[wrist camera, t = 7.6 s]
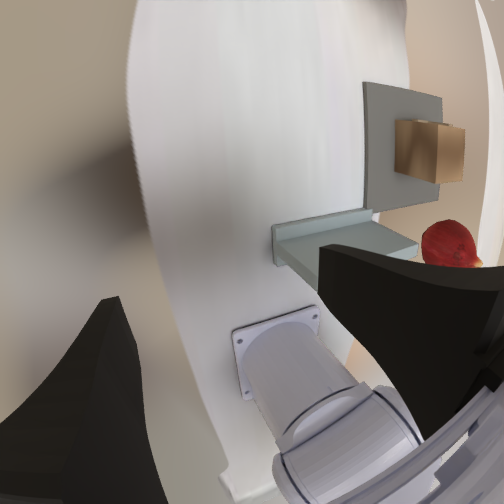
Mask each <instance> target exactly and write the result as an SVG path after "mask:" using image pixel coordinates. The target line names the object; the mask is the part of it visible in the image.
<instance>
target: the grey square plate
mask: <svg viewBox="0 0 504 504" xmlns="http://www.w3.org/2000/svg"><path fill="white" fill-rule="evenodd" d="M363 92H364V113H365V188H364V208H365V209H370V208H371V209H373V210H372V214H373V213H378V212H383V211H387V210H393V209H397V208H402V207H407V206H412V205H417V204H422V203H427V202H432V201H437V200H438V197H439V188H440V183H439V184H434V183H431V182H428V181H424V180H421V179H418V178H415V177H411V176H408V175H404V174H401V173H397V172H394V164H395V119H396V120H406V121H412V119H418V120H425V121H432V122H439V123H443V118H442V117H443V115H442V98H440V97H437V96H433V95H429V94H425V93H421V92H416V91H413V90H408V89H403V88H399V87H394V86H388V85H383V84H377V83H371V82H363Z"/></svg>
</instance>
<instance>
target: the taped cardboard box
mask: <svg viewBox="0 0 504 504" xmlns="http://www.w3.org/2000/svg"><path fill="white" fill-rule="evenodd" d="M464 149H465V129H461V128H456V127H453V125H452V124H445V123H439V122H432V121H425V120H418V119H412V121H406V120H396V119H395V164H394V172H397V173H401V174H404V175H408V176H411V177H415V178H418V179H421V180H424V181H428V182H431V183H434V184H439V183H448V182H456V181H462V176H463V165H464Z"/></svg>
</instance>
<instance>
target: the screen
mask: <svg viewBox="0 0 504 504" xmlns="http://www.w3.org/2000/svg"><path fill="white" fill-rule="evenodd" d="M372 210H373V209H371V208H370V209H365V208H360V209H355V210H350V211H345V212H339V213H334V214H329V215H324V216H319V217H314V218H309V219H304V220H299V221H294V222H289V223H284V224H279V225H274V226H272V236H273V256H274V264H275V265H276V266H277V267H279V266H283V265H288V266H290V267H291V268H292V269H293V270H294V271H295V272H296V273H297V274H298V275H299V276H300V277H301V278H302V279H304V280H305V281H306V282H307V283H308V284H309V285H310V286H311V287H312V288H313V289H314V290H315V291H316V292H317V291H318V269H319V247H322V246H326V245H330V244H340V245H345V246H350V247H355V248H359V249H363V250H367V251H371V252H375V253H378V254H382V255H386V256H390V257H395V258H399V259H404V260H408V259H410V258H413V257H416V256H417V252H418V245H419V244H418V243H416V242H415V241H413V240H411V239H409V238H407V237H405V236H403V235H401V234H399V233H397V232H395V231H393V230H391V229H389V228H387V227H385V226H383V225H380V224H378V223H376V222H374V221H372Z"/></svg>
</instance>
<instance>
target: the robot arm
mask: <svg viewBox="0 0 504 504" xmlns="http://www.w3.org/2000/svg"><path fill="white" fill-rule="evenodd" d="M317 294H318V295H319V297H320V298H321V300H322V301H323V302H324V304H325V305H326V307H327V308H328V309H329V311H330V312H331V313H332V314H333V315H334V316H335V318H336V319H337V320H338V321H339V322H340V323H341V324H342V325H343V326H344V327H345V328H346V329H347V330H348V331H349V332H350V333H351V334H352V335H353V336H354V337H355V338H356V339H357V340H358V341H359V342H360V343H361V344H362V345H363V346H364V347H365V348H366V349H367V350H368V352H369V353H370V354H371V355H372V356H373V357H374V359H375V360H376V361H377V363H378V364H379V365H380V367H381V368H382V369H383V371H384V372H385V373H386V375H387V376H388V378H389V379H390V381H391V382H392V384H393V385H394V386H395V388H396V389H394V388H392V387H387V386H381V385H378V386H377V387H375V388H374V389H373V390H371V388H370V387H369V386H368V385H367V384H366V383H365V382H362V383H360V384H359V383H358V382H357V380H356V379H355V378H354V377H353V376H352V375H351V374H350V373H349V371H348V370H347V369H346V368H345V367H344V366H343V365H342V363H341V362H340V361H339V360H338V359H337V358H336V357H335V356H334V354H333V353H332V352H331V351H330V350H329V349H328V348H327V346H326V345H325V344H324V343H323V342H322V341H321V340H320V339H319V337H318V329H319V316H320V309H319V308H318V307H317V306H312V307H309V308H306V309H303V310H300V311H297V312H294V313H291V314H287V315H284V316H281V317H278V318H275V319H272V320H269V321H265V322H262V323H259V324H255V325H252V326H249V327H245V328H242V329H239V330H236V331H234V332H233V334H232V339H233V345H234V351H235V357H236V364H237V370H238V376H239V381H240V387H241V393H242V398H243V400H245V401H248V400H251V399H254V400H255V402H256V404H257V406H258V408H259V410H260V412H261V413H262V415H263V417H264V419H265V421H266V423H267V425H268V426H269V428H270V430H271V432H272V434H273V436H274V437H275V439H276V441H275V442H276V444H277V446H278V448H279V450H280V451H281V452H280V453H278V454H276V455H275V456H274V458H273V465H272V473H273V476H274V479H275V482H276V484H277V486H278V488H279V489H280V491H281V493H282V494H283V496H284V497H285V499H286V500H287V501H288V503H289V504H504V266H498V267H482V268H463V267H448V266H438V265H431V264H424V263H418V262H413V261H408V260H404V259H399V258H395V257H390V256H386V255H382V254H378V253H375V252H371V251H367V250H363V249H359V248H355V247H350V246H345V245H340V244H330V245H326V246H322V247H319V269H318V292H317ZM239 339H241V340H239ZM238 340H239V341H238ZM468 430H469V431H468ZM467 431H468V436H469V438H468V439H467V440H466V441H465V442H464V443H463V444H462V445H461V447H460V448H459V449H458V450H457V451H456V452H455V453H454V454H453V455H452V456H451V457H450V458H449V459H448V460H447V461H446V462H445V463H444V464H443V465H442V466H441V467H440V464H441V460H442V458H441V456H442V455H443V454H444V453H445V452H446V451H448V450H449V449H450V448H451V447H452V446H453V445H454V444H455V443H456V442H457V441H458V440H459V439H460V438H461V437H462V436H463V435H464V434H465V433H466V432H467ZM439 467H440V468H439ZM435 477H436V478H437V479H438V481H439V482H440V485H439V486H438V487H436V488H435V489H434V490H433V491H432V492H430V493H429V491H430V489H431V487H432V484H433V482H434V480H435ZM0 504H168V501H167V498H166V496H165V493H164V490H163V487H162V485H161V482H160V479H159V475H158V472H157V469H156V466H155V463H154V459H153V455H152V452H151V448H150V444H149V440H148V435H147V430H146V424H145V414H144V403H143V392H142V377H141V367H140V361H139V355H138V349H137V344H136V341H135V339H134V336H133V334H132V331H131V328H130V326H129V323H128V321H127V318H126V315H125V313H124V310H123V307H122V304H121V301H120V298H119V296H116V297H112V298H107V299H103V300H101V301H100V302H99V304H98V305H97V307H96V309H95V310H94V312H93V313H92V315H91V316H90V318H89V319H88V321H87V323H86V324H85V325H84V327H83V328H82V330H81V332H80V333H79V335H78V336H77V338H76V339H75V341H74V342H73V343H72V345H71V346H70V348H69V349H68V350H67V352H66V354H65V355H64V356H63V358H62V359H61V360H60V362H59V363H58V364H57V366H56V367H55V368H54V370H53V371H52V372H51V373H50V374H49V376H48V377H47V378H46V379H45V380H44V381H43V382H42V384H41V385H40V386H39V387H38V388H37V389H36V390H35V391H34V392H33V393H32V394H31V395H30V396H29V397H28V398H27V399H26V400H25V402H23V404H22V405H21V406H19V407H18V408H17V409H16V410H15V411H14V412H13V413H12V414H11V415H10V416H8V417H7V418H6V419H5V420H4V421H3V422H1V423H0Z"/></svg>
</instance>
